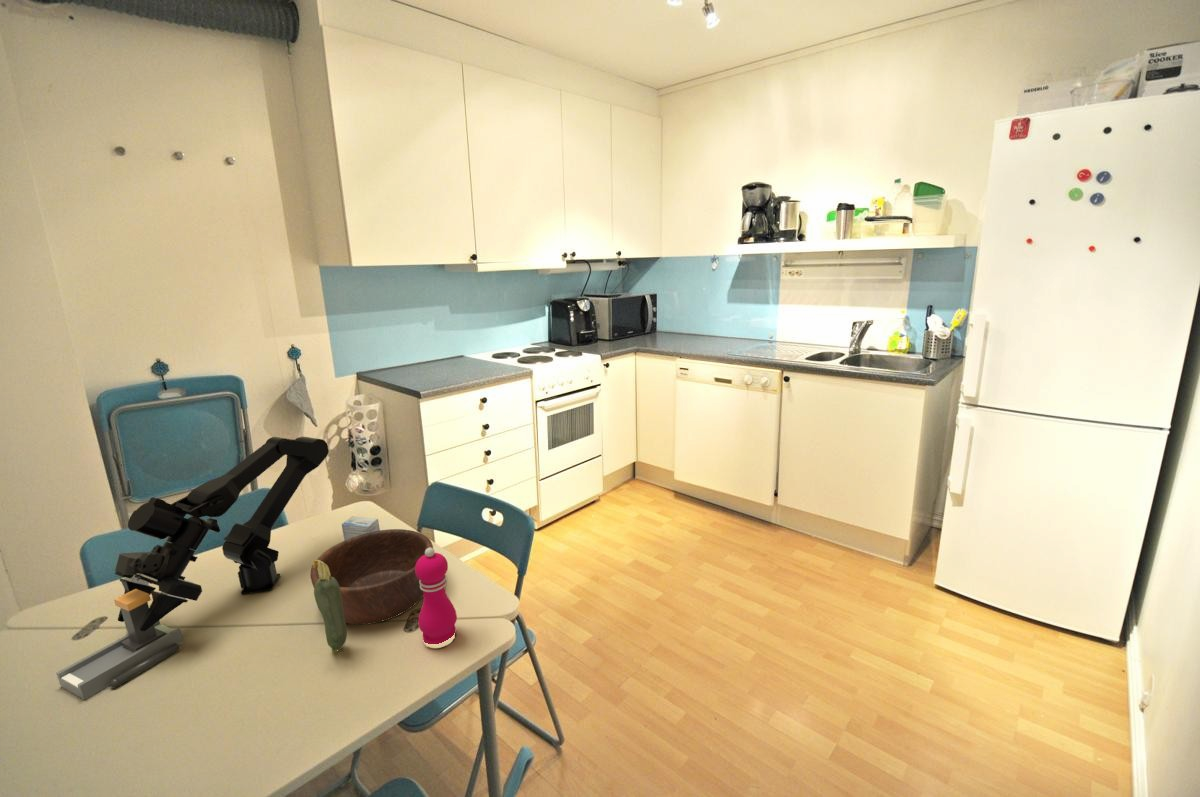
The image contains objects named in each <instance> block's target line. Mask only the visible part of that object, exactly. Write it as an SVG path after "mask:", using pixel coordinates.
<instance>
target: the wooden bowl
mask: <svg viewBox="0 0 1200 797" xmlns="http://www.w3.org/2000/svg"><path fill="white" fill-rule="evenodd" d="M427 548H433V549H434V545H433V542H432V541H431V539H430V538H429V537H428V536H426V535H425V534H423V533H421V532H418V531H415V530H411V529H399V528H396V529H395V528H394V529H393V528H392V529H390V528H389V529H382V530H381V529H380V531H374V532H369V533H365V534H362V535H358V536H355V537H352V538H350V539H347V540H345V541H344V540H343V541H341V542H339V543H337V544H334V545H333V546H331V547H330V548H329V549H327V550H325V551H324V552H323V553H322V554H320V556H318V557H317V559H316V560H320V561H321V562H323V563H325V564H326V565H327V566H328V567H329V572H330V574H331V575H330V576H331V577H333V578H335V579H336V580H337V582H338V584H339V587H340V591H341V596H342V603H343V610H344V617H345V623H346V624H351V625H369V624H368V623H371V624H375V623H374V622H376V623H380V622H379V621H381V622H383V621H382V620H384V621H386V619H388V618H390V619H392V618H391V617H393V618H395V617H397V616H396V615H398V614H400V613H402V612H403V613H405V612H407V611H408V610H410V609H411V608H413V607H414V606H413V605H414V604H415V603H416V604H417V603H418V602H419V601H421V599H422V598H423V597H424V594H423V590H421V589H420V583H419V581H420V580H419V579H418V578H417V576H416V574H415V565H416V563H417V561H418V560H419V558H420V557H422V556H423V555H425V550H426V549H427ZM313 567H314V566H313V565H312V566H311V569H310V581H311V583H312V586H313V588H314V587H315V584H316V582H317V581H318V580H319V579H320V577H319V575H318V566H317V565H316V566H315V568H313ZM416 604H415V605H416ZM410 607H411V608H410ZM409 608H410V609H409ZM406 610H407V611H406ZM404 611H405V612H404ZM403 613H402V614H403ZM400 615H401V614H400ZM394 616H395V617H394ZM398 616H399V615H398ZM388 620H389V619H388Z"/></svg>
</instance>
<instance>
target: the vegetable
mask: <svg viewBox="0 0 1200 797" xmlns="http://www.w3.org/2000/svg"><path fill="white" fill-rule="evenodd" d="M316 565H317V566H318V575H319V577H320V579H319V580H318V581H317V582H316V584H315V587H313V595H314V596H313V597H314V599H315V603H316V606H317V608H318V611H319V613H320V615H321V617H322V620H323V623H324V631H325V636H326V643H327V645H328V646H329V648H330V649H331V651H332V652H338V651H340V650H341V648H342V647H344V645H345V643H346V641H347V635H348V633H347V632H348V630H347V629H348V628H347V625H346V624H347V623H345V617H344V610H343V603H342V596H341V591H340V587H339V584H338V582H337V580H336V579H335V578H333V577H331V576H330V575H331V574H330V572H329V567H328V566H327V565H326V564H325V563H323V562H321V561H320V560H317V559H315V560H314V561H313V562H312V566H314V567H313V568H315V566H316ZM337 650H338V651H337Z"/></svg>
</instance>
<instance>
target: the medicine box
mask: <svg viewBox="0 0 1200 797" xmlns="http://www.w3.org/2000/svg"><path fill="white" fill-rule="evenodd" d="M379 522H380V521H379V518H374V517H364V516H354V515H353V516H351V517H349V518H348V519H346V520H345V521H344V522H342V523H341V529H342V530H341V531H342V536H343V541H345V540H347V539H350V538H352V537H355V536H358V535H362V534H365V533H369V532H374V531H380V530H381V529H380V524H379Z"/></svg>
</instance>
